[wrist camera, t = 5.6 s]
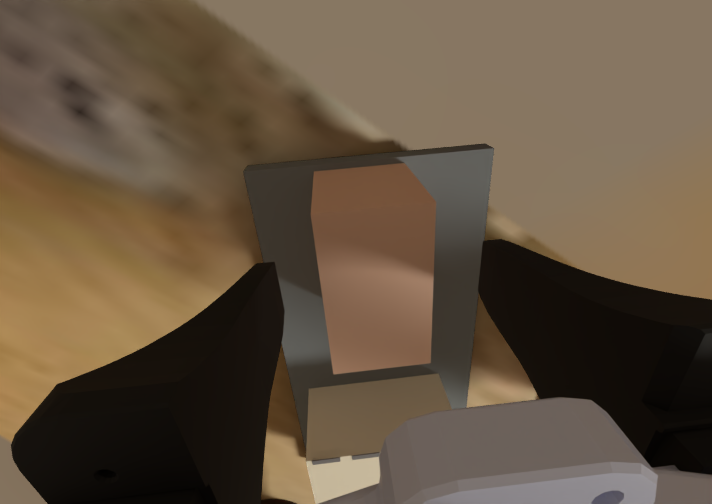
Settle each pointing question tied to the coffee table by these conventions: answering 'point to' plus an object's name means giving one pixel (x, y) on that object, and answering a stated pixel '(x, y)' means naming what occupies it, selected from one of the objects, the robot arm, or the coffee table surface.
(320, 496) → the pad
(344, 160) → the mat
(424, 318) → the stub
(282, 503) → the coffee mug
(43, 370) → the coffee table surface
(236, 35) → the coffee table surface
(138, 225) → the coffee table surface
